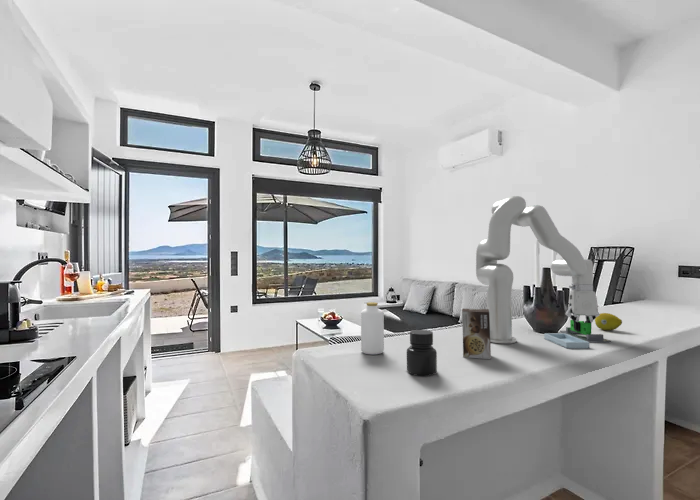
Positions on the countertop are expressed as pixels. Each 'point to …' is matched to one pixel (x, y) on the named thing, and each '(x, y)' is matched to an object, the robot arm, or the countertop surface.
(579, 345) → the parts tray
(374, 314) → the white bottle
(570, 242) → the robot arm
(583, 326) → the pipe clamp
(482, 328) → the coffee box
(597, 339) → the rack rail
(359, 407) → the countertop surface
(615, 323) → the lemon
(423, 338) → the ink bottle
